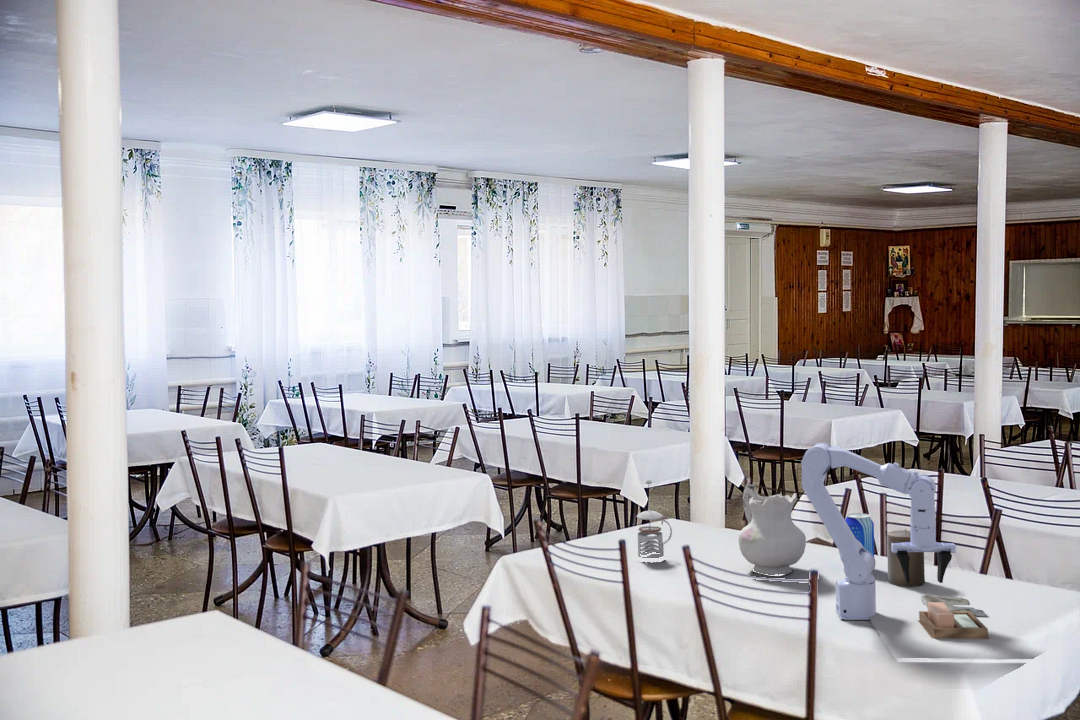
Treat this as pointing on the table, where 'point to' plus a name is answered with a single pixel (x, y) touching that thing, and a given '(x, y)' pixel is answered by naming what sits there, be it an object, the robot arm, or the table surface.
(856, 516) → the beer can
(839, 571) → the table surface
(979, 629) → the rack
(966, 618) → the glazed tile
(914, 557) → the pillar candle
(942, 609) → the clay bar
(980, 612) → the fossil rock
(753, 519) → the ceramic pitcher
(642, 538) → the french press
